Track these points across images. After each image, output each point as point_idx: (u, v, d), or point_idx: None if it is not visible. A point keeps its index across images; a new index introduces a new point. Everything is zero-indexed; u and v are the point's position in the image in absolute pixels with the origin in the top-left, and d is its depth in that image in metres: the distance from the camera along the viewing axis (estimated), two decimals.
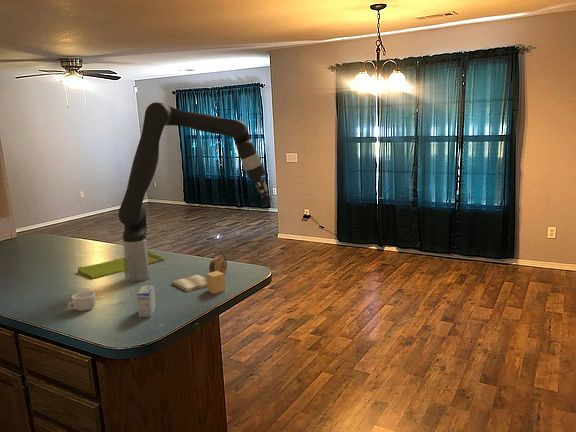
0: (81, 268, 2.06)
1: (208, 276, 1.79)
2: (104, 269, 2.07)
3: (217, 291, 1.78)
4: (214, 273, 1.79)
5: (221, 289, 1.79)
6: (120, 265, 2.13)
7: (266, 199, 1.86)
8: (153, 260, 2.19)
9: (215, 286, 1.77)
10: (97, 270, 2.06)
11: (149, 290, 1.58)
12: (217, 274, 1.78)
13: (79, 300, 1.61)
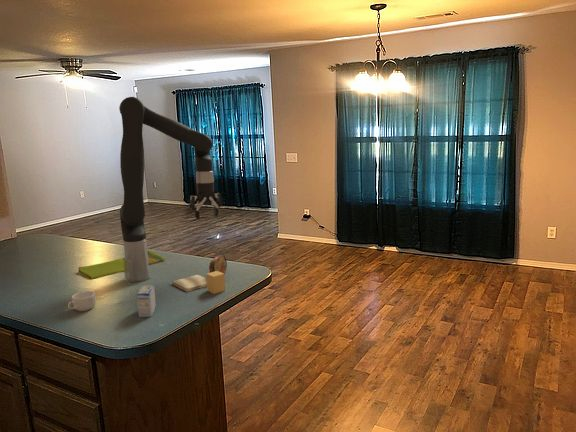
0: (81, 268, 2.06)
1: (208, 276, 1.79)
2: (104, 269, 2.07)
3: (217, 291, 1.78)
4: (214, 273, 1.79)
5: (221, 289, 1.79)
6: (120, 265, 2.13)
7: (195, 213, 2.00)
8: (154, 260, 2.18)
9: (215, 286, 1.77)
10: (97, 270, 2.06)
11: (149, 290, 1.58)
12: (217, 274, 1.78)
13: (79, 300, 1.61)
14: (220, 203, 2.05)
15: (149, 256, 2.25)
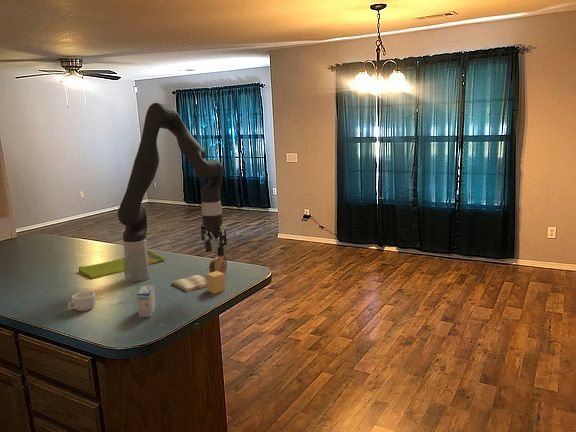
0: (82, 268, 2.06)
1: (208, 276, 1.79)
2: (104, 269, 2.07)
3: (217, 291, 1.78)
4: (214, 273, 1.79)
5: (221, 289, 1.79)
6: (121, 265, 2.12)
7: None
8: (154, 260, 2.18)
9: (215, 286, 1.77)
10: (97, 270, 2.06)
11: (149, 290, 1.58)
12: (217, 274, 1.78)
13: (79, 300, 1.61)
14: (220, 242, 1.71)
15: (150, 256, 2.24)
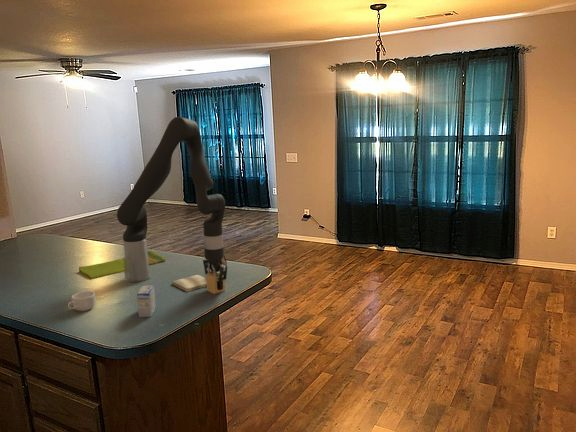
0: (82, 268, 2.07)
1: (208, 276, 1.79)
2: (105, 269, 2.07)
3: (217, 291, 1.78)
4: None
5: None
6: (121, 265, 2.12)
7: None
8: (154, 261, 2.18)
9: (215, 286, 1.77)
10: (97, 270, 2.06)
11: (149, 290, 1.58)
12: None
13: (79, 300, 1.61)
14: (219, 277, 1.75)
15: (150, 256, 2.24)
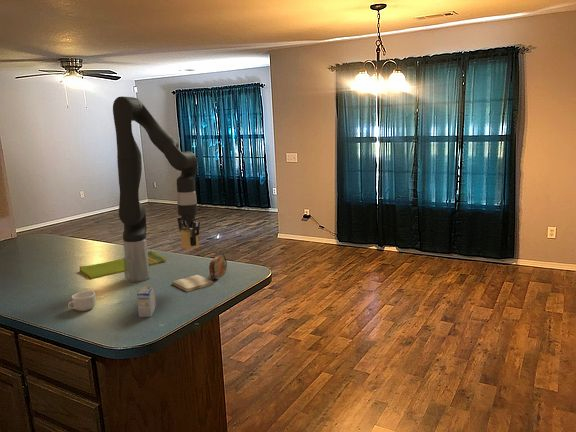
0: (83, 267, 2.07)
1: (182, 232, 1.83)
2: (105, 269, 2.07)
3: (190, 247, 1.82)
4: None
5: (195, 245, 1.84)
6: (121, 265, 2.12)
7: None
8: (155, 261, 2.17)
9: (188, 242, 1.81)
10: (98, 270, 2.06)
11: (149, 290, 1.58)
12: None
13: (79, 300, 1.61)
14: (192, 232, 1.79)
15: (151, 256, 2.24)
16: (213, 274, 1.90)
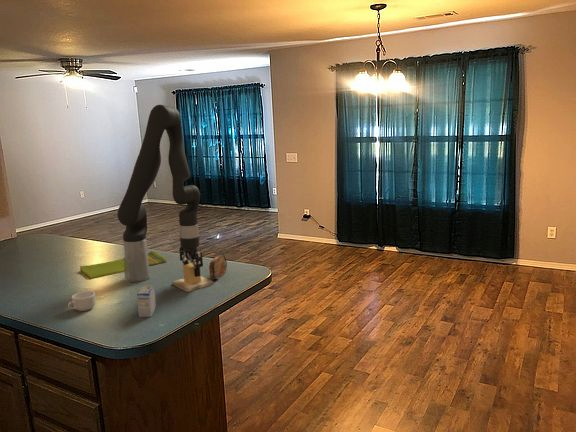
0: (83, 267, 2.07)
1: (184, 267, 1.86)
2: (105, 269, 2.08)
3: (193, 282, 1.85)
4: (190, 265, 1.87)
5: (197, 280, 1.86)
6: (122, 265, 2.12)
7: None
8: (155, 261, 2.17)
9: (191, 277, 1.84)
10: (98, 270, 2.07)
11: (149, 290, 1.58)
12: None
13: (79, 300, 1.61)
14: (196, 264, 1.81)
15: (152, 257, 2.23)
16: (213, 274, 1.90)
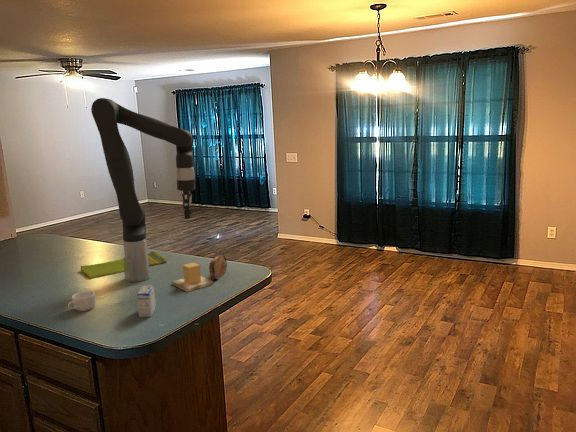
0: (83, 267, 2.08)
1: (184, 267, 1.86)
2: (105, 269, 2.08)
3: (193, 282, 1.85)
4: (190, 265, 1.87)
5: (197, 280, 1.86)
6: (122, 265, 2.12)
7: None
8: (156, 262, 2.16)
9: (191, 277, 1.84)
10: (98, 269, 2.07)
11: (149, 290, 1.58)
12: (193, 265, 1.86)
13: (79, 300, 1.61)
14: (183, 205, 1.87)
15: (153, 257, 2.23)
16: (213, 274, 1.90)
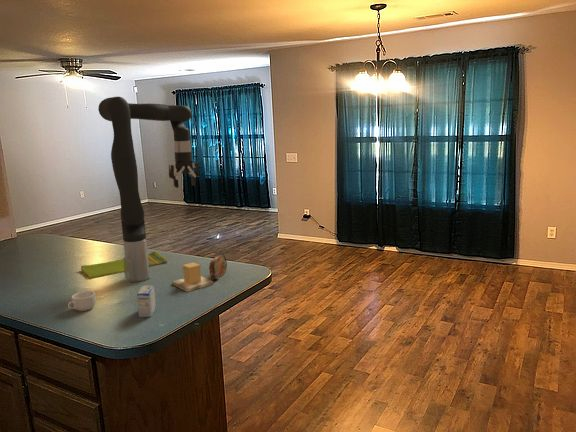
0: (84, 267, 2.08)
1: (184, 267, 1.86)
2: (105, 269, 2.08)
3: (193, 282, 1.85)
4: (190, 265, 1.87)
5: (197, 280, 1.86)
6: (122, 265, 2.12)
7: None
8: (156, 262, 2.16)
9: (191, 277, 1.84)
10: (98, 269, 2.07)
11: (149, 290, 1.58)
12: (193, 265, 1.86)
13: (79, 300, 1.61)
14: None
15: (154, 257, 2.23)
16: (213, 274, 1.90)
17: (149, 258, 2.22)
